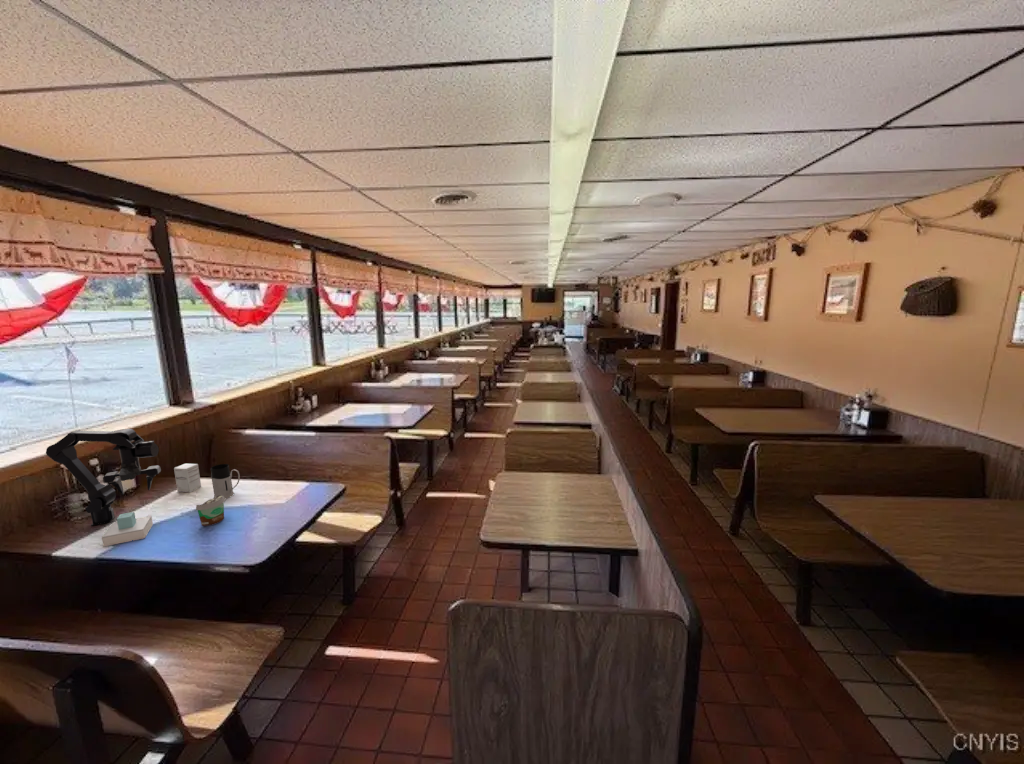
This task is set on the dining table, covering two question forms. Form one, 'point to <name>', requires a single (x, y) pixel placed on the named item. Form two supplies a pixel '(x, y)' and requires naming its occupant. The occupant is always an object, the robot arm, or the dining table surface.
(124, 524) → the teal block
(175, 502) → the dining table surface
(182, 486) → the supplement box
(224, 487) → the grey black mug
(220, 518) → the food container
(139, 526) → the flat beige block
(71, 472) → the robot arm
